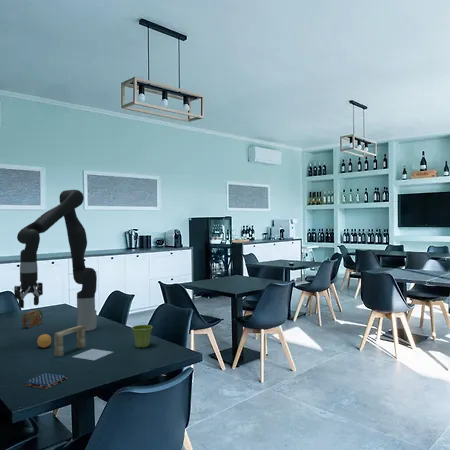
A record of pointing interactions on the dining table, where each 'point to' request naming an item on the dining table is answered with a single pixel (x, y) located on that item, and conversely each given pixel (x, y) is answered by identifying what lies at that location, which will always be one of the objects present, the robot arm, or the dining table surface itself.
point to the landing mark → (92, 354)
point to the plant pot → (142, 335)
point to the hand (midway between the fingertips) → (29, 306)
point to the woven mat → (46, 380)
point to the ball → (44, 340)
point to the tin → (32, 318)
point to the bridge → (59, 335)
